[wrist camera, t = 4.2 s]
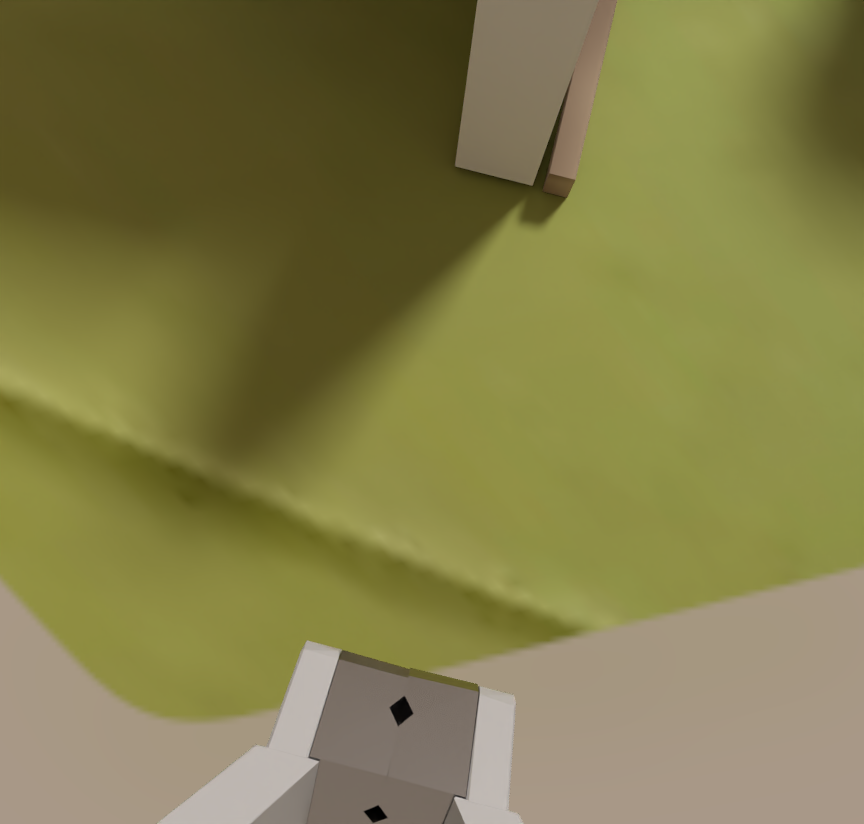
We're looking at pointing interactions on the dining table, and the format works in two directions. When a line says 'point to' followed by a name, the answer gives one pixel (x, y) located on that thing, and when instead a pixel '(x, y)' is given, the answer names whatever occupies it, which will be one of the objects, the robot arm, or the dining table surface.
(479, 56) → the door
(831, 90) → the dining table surface
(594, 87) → the cabinet
